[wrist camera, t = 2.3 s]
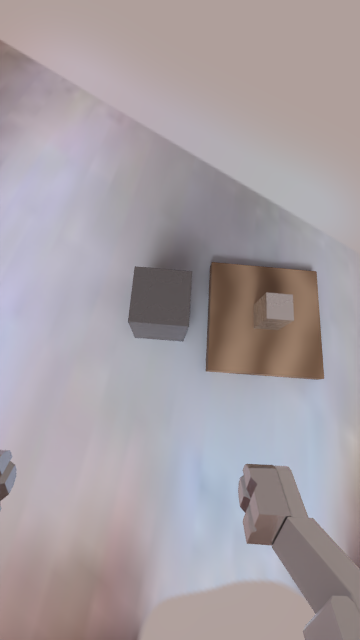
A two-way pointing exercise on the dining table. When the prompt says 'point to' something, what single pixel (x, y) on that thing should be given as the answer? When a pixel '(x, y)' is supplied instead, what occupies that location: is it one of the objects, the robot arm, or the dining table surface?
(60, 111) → the dining table surface
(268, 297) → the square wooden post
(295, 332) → the base plate
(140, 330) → the grey square block
